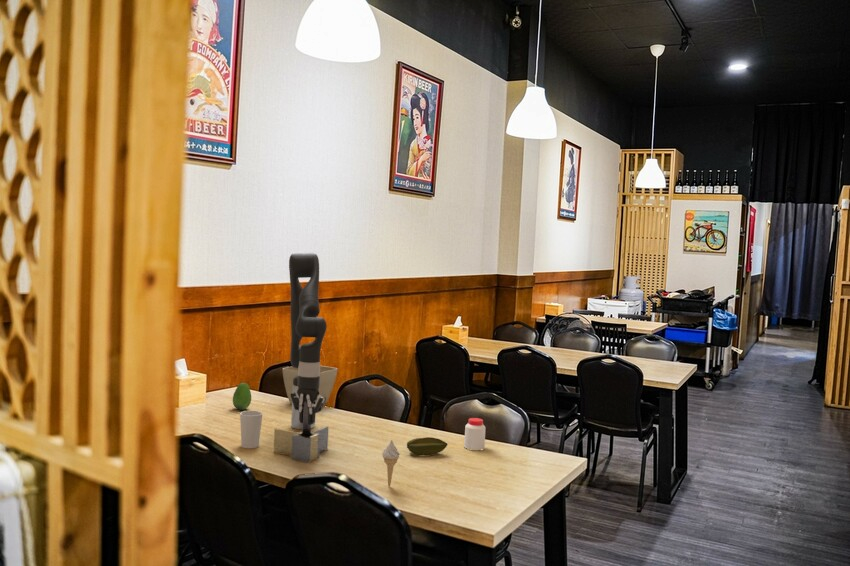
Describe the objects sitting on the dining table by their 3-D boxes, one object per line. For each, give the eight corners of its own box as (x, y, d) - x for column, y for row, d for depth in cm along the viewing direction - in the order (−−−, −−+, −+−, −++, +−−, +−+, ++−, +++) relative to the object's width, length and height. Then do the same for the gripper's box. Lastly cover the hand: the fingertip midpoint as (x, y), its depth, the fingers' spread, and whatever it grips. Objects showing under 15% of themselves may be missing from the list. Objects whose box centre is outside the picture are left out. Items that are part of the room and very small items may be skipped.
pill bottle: (487, 447, 270) (488, 419, 270) (480, 452, 263) (481, 423, 263) (468, 444, 274) (470, 416, 273) (461, 448, 267) (462, 420, 266)
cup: (255, 449, 252) (256, 416, 251) (234, 447, 253) (236, 414, 253) (264, 444, 259) (266, 411, 259) (244, 441, 261) (246, 409, 260)
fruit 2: (423, 448, 265) (423, 430, 265) (448, 455, 258) (449, 437, 257) (403, 454, 256) (404, 436, 256) (428, 461, 249) (429, 443, 248)
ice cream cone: (380, 483, 223) (382, 436, 223) (397, 483, 224) (400, 437, 223) (380, 489, 218) (383, 441, 217) (398, 489, 218) (401, 442, 217)
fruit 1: (233, 407, 313) (234, 380, 312) (252, 407, 314) (253, 381, 313) (230, 411, 305) (231, 384, 304) (249, 411, 306) (250, 384, 305)
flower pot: (337, 403, 332) (338, 367, 331) (314, 410, 314) (316, 373, 313) (303, 397, 339) (304, 363, 338) (279, 404, 322) (281, 368, 321)
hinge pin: (305, 433, 246) (306, 399, 246) (312, 434, 245) (313, 400, 245) (300, 435, 244) (301, 401, 243) (307, 436, 242) (308, 402, 242)
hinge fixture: (296, 443, 263) (297, 420, 262) (334, 450, 256) (335, 427, 255) (268, 454, 248) (269, 430, 247) (307, 462, 240) (308, 438, 240)
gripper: (332, 375, 244) (329, 424, 245) (298, 370, 250) (296, 418, 251) (319, 378, 237) (317, 428, 238) (285, 373, 243) (283, 422, 244)
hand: (306, 423), depth 244 cm, fingers closed on hinge pin, 3 cm apart
